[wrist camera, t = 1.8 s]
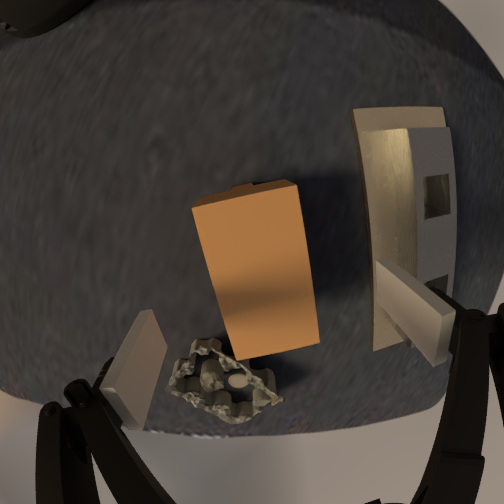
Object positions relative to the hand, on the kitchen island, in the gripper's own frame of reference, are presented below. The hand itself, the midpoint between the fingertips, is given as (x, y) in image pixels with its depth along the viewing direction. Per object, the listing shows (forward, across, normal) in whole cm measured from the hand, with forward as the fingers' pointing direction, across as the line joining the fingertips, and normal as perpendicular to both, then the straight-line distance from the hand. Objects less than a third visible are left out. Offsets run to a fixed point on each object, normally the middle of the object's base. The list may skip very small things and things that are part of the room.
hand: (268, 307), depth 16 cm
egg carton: (+10, -6, -12) cm, 17 cm away
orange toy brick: (+9, 0, +1) cm, 9 cm away
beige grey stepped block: (+9, +15, -1) cm, 18 cm away
